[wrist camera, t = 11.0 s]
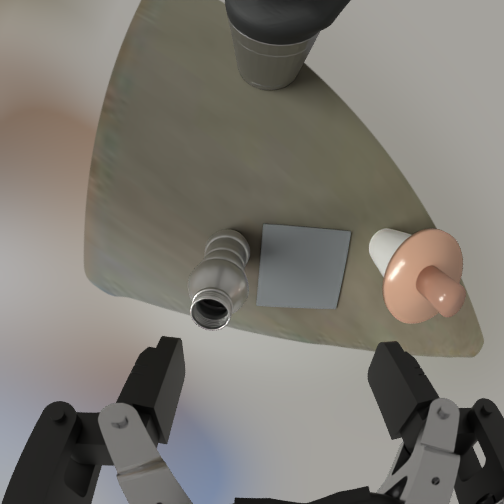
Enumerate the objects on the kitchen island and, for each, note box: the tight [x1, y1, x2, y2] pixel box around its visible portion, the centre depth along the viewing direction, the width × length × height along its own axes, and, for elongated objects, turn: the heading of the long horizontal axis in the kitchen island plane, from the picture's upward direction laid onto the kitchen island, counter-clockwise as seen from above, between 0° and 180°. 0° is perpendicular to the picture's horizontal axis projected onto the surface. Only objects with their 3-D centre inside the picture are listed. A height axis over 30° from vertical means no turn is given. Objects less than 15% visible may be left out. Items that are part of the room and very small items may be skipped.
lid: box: [382, 228, 466, 323], centre depth 27 cm, size 13×13×7 cm
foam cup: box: [369, 228, 411, 277], centre depth 36 cm, size 10×9×13 cm
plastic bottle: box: [188, 229, 250, 331], centre depth 33 cm, size 6×7×20 cm
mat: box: [256, 223, 351, 309], centre depth 44 cm, size 14×14×1 cm
